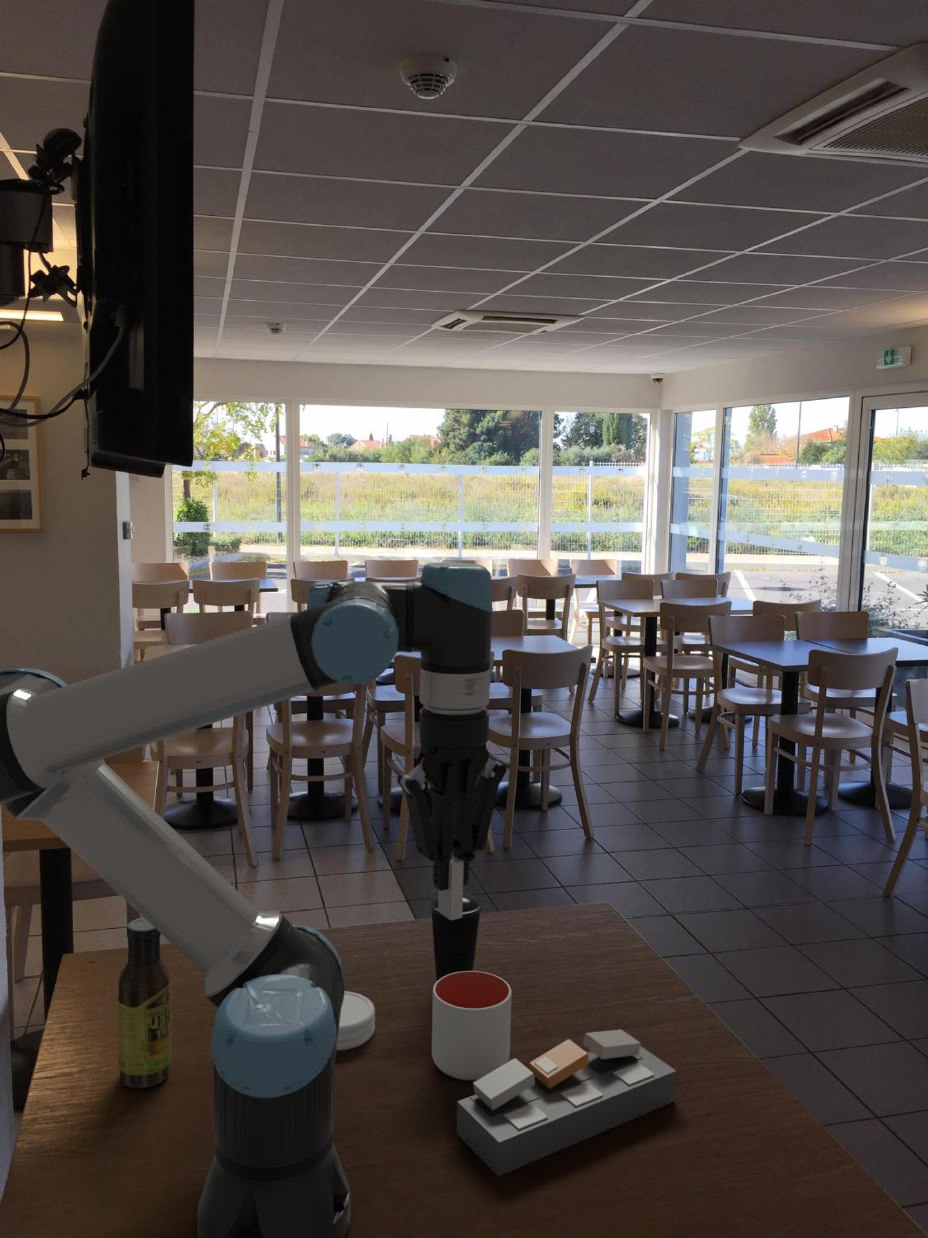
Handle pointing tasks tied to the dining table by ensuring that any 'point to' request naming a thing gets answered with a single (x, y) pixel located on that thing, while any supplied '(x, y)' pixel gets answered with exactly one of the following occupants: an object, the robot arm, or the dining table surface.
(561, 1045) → the block
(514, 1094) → the block
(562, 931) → the dining table surface
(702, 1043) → the dining table surface
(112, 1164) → the dining table surface
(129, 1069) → the sauce bottle
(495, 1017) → the cup
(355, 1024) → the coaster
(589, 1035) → the rocker
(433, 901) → the drinking cup
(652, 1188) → the dining table surface
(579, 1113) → the switch panel
